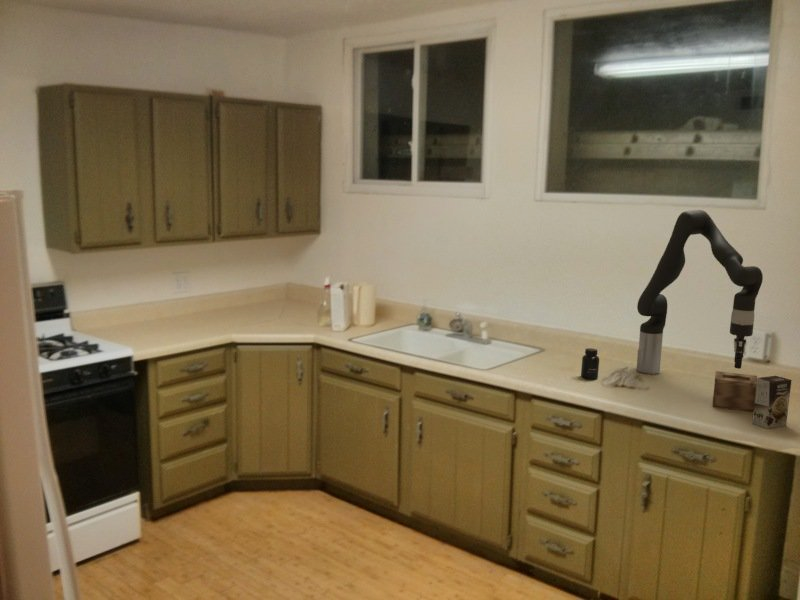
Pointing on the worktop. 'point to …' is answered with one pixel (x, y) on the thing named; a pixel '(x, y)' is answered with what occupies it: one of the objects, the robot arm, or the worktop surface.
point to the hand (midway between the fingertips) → (737, 365)
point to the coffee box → (772, 401)
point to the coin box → (735, 391)
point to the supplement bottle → (590, 364)
